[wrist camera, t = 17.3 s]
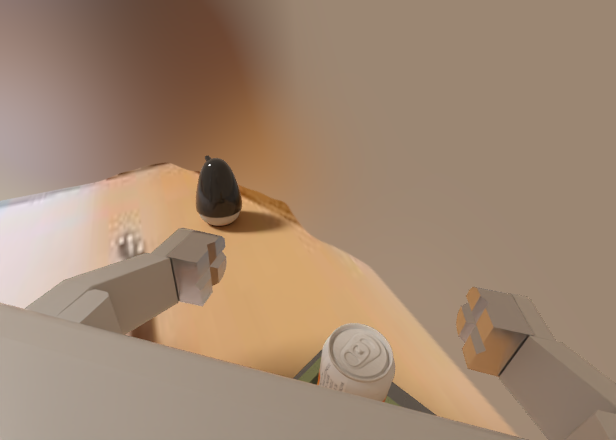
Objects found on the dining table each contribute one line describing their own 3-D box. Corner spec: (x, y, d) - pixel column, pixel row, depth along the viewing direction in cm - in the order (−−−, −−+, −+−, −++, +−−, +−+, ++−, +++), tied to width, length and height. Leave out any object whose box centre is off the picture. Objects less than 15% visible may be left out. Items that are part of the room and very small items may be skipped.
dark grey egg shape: (231, 206, 77) (227, 148, 69) (250, 224, 70) (248, 162, 62) (191, 215, 71) (182, 154, 63) (207, 236, 64) (199, 170, 56)
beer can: (377, 441, 32) (412, 353, 24) (339, 490, 28) (367, 404, 20) (336, 397, 35) (355, 309, 28) (297, 434, 32) (308, 344, 24)
